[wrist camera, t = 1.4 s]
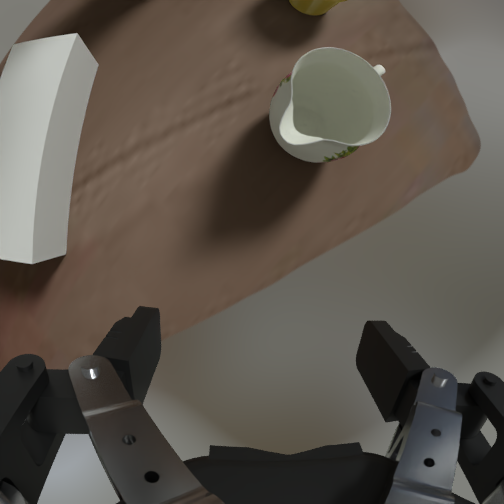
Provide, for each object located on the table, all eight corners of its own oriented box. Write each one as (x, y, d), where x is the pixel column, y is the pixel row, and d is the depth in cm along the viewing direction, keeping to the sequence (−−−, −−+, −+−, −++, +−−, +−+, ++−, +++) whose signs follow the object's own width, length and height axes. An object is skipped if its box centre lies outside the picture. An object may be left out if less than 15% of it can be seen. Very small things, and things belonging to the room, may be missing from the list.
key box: (9, 246, 33) (-29, 254, 24) (41, 70, 31) (13, 44, 22) (66, 254, 35) (32, 264, 26) (98, 64, 33) (77, 33, 24)
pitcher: (375, 122, 39) (434, 93, 26) (284, 200, 38) (325, 191, 25) (325, 64, 37) (369, 14, 24) (226, 133, 36) (238, 90, 23)
